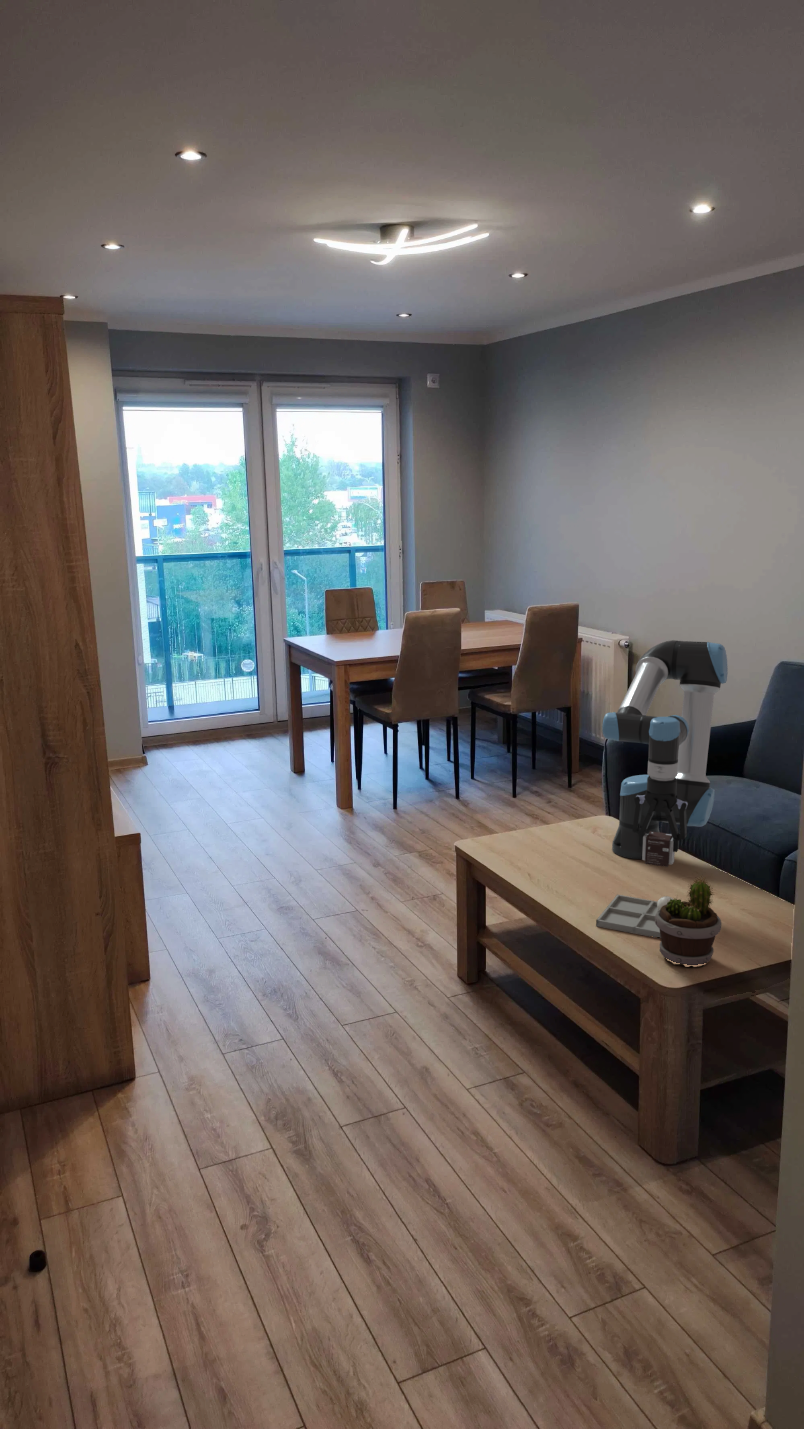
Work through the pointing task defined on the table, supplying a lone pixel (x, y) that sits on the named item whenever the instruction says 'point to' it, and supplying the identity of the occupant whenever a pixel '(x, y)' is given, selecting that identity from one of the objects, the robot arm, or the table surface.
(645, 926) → the egg tray
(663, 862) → the box
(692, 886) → the flowerpot
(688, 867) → the table surface
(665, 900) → the egg
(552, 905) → the table surface
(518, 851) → the table surface
